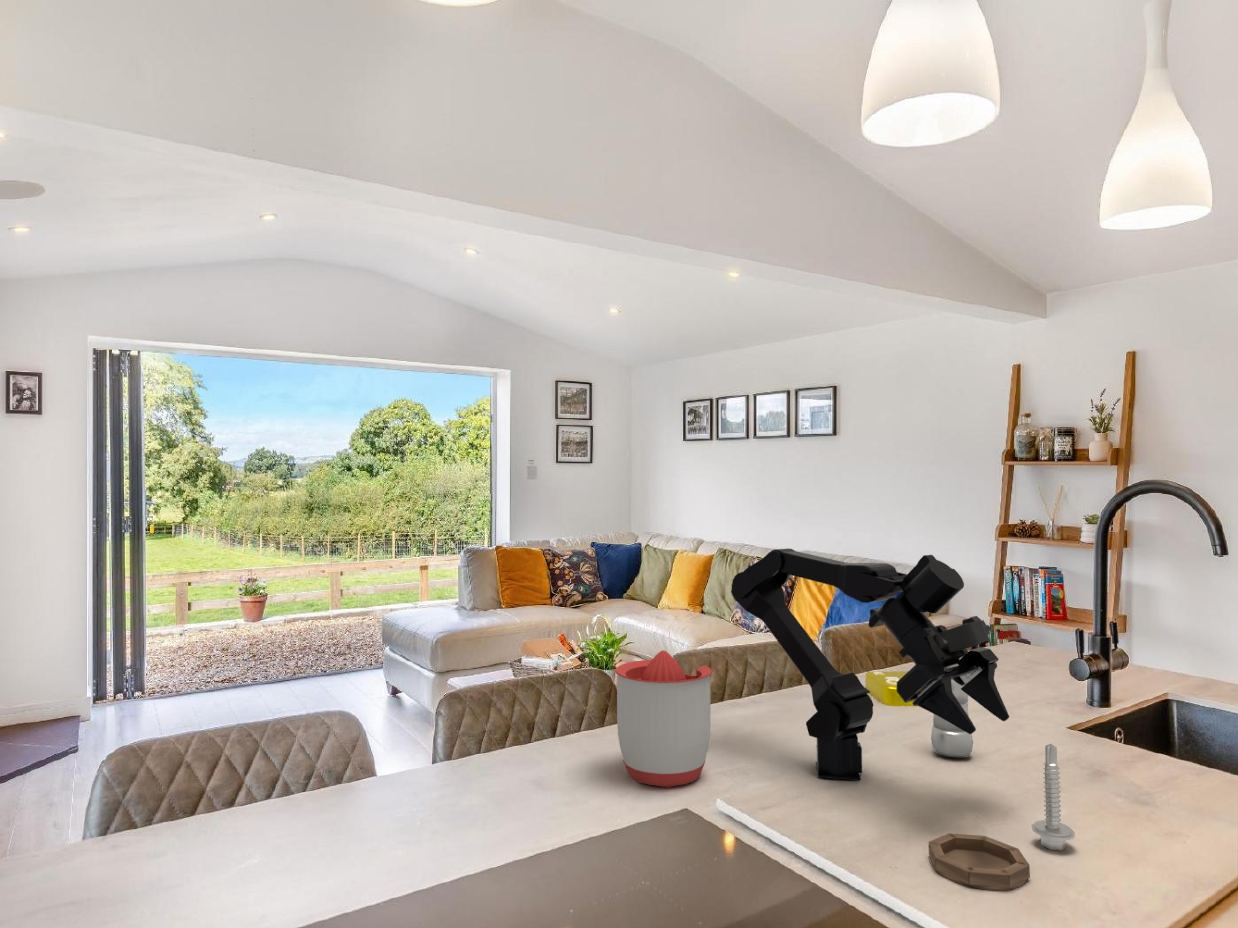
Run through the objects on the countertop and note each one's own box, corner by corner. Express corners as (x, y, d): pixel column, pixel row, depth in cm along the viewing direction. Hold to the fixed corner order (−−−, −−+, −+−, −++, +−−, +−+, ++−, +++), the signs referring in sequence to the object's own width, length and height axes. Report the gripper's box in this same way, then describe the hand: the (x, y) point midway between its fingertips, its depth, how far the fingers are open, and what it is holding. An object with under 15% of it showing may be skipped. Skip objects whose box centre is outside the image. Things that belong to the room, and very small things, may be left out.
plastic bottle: (977, 763, 131) (975, 642, 132) (934, 760, 132) (932, 641, 133) (968, 750, 137) (966, 635, 138) (927, 748, 139) (925, 634, 139)
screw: (1026, 846, 100) (1039, 834, 104) (1068, 858, 97) (1080, 845, 100) (1024, 743, 101) (1036, 735, 104) (1065, 752, 97) (1077, 743, 101)
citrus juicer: (738, 770, 128) (737, 647, 129) (671, 802, 115) (670, 665, 116) (664, 749, 139) (663, 636, 139) (595, 776, 126) (595, 650, 127)
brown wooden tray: (940, 885, 91) (940, 869, 91) (923, 844, 101) (922, 830, 101) (1039, 894, 88) (1039, 878, 89) (1011, 851, 99) (1011, 837, 99)
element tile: (956, 707, 166) (956, 684, 166) (886, 708, 166) (885, 685, 166) (927, 689, 181) (926, 668, 181) (862, 690, 181) (862, 669, 181)
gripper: (915, 604, 106) (997, 704, 97) (984, 593, 118) (1063, 681, 109) (865, 653, 112) (939, 751, 103) (935, 638, 124) (1007, 725, 115)
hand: (990, 725), depth 107 cm, fingers open, 9 cm apart
